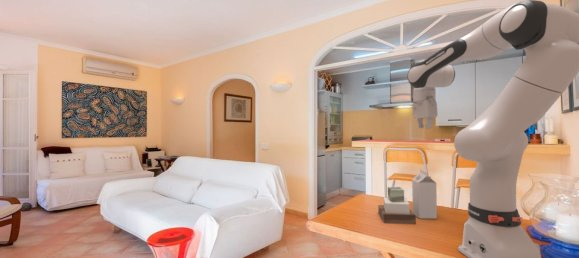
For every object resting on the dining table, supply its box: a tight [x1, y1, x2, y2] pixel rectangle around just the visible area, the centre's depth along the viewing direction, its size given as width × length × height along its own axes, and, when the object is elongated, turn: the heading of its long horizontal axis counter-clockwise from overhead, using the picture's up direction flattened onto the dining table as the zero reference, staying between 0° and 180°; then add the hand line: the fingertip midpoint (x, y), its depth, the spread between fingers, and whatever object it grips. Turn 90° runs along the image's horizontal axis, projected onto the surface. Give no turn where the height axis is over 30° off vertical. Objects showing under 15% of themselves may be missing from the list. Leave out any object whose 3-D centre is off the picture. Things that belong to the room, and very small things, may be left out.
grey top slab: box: [383, 196, 411, 215], centre depth 109 cm, size 9×9×4 cm
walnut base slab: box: [377, 204, 417, 225], centre depth 109 cm, size 12×12×4 cm
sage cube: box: [387, 186, 405, 202], centre depth 109 cm, size 5×5×5 cm
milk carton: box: [411, 169, 438, 220], centre depth 111 cm, size 7×7×19 cm
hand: (424, 128), depth 117 cm, fingers open, 8 cm apart
